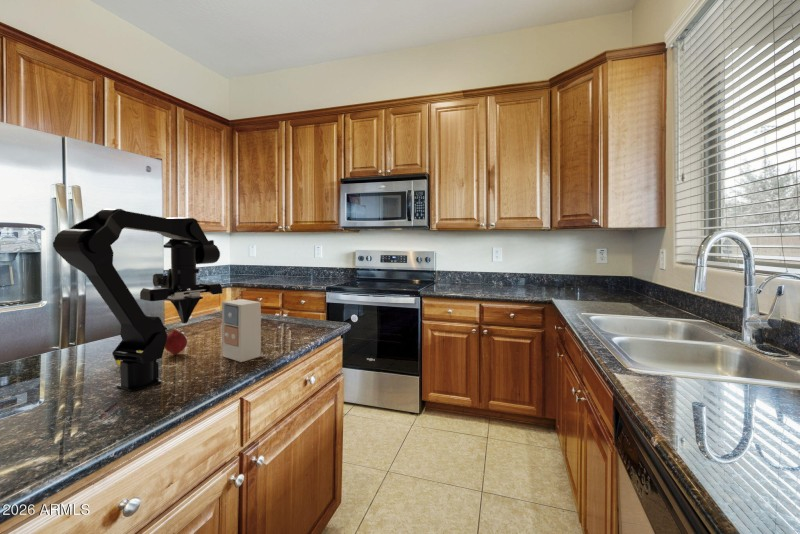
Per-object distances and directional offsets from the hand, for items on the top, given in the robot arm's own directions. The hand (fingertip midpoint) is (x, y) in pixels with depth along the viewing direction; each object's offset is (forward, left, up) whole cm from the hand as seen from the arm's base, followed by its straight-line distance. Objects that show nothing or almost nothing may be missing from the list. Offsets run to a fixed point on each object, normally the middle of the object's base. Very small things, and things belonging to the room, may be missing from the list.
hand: (184, 323), depth 97 cm
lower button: (+11, -5, -8) cm, 15 cm away
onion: (+5, +12, -12) cm, 18 cm away
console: (+14, -6, -12) cm, 20 cm away
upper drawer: (+11, -5, -2) cm, 13 cm away
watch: (-7, +13, -12) cm, 19 cm away
